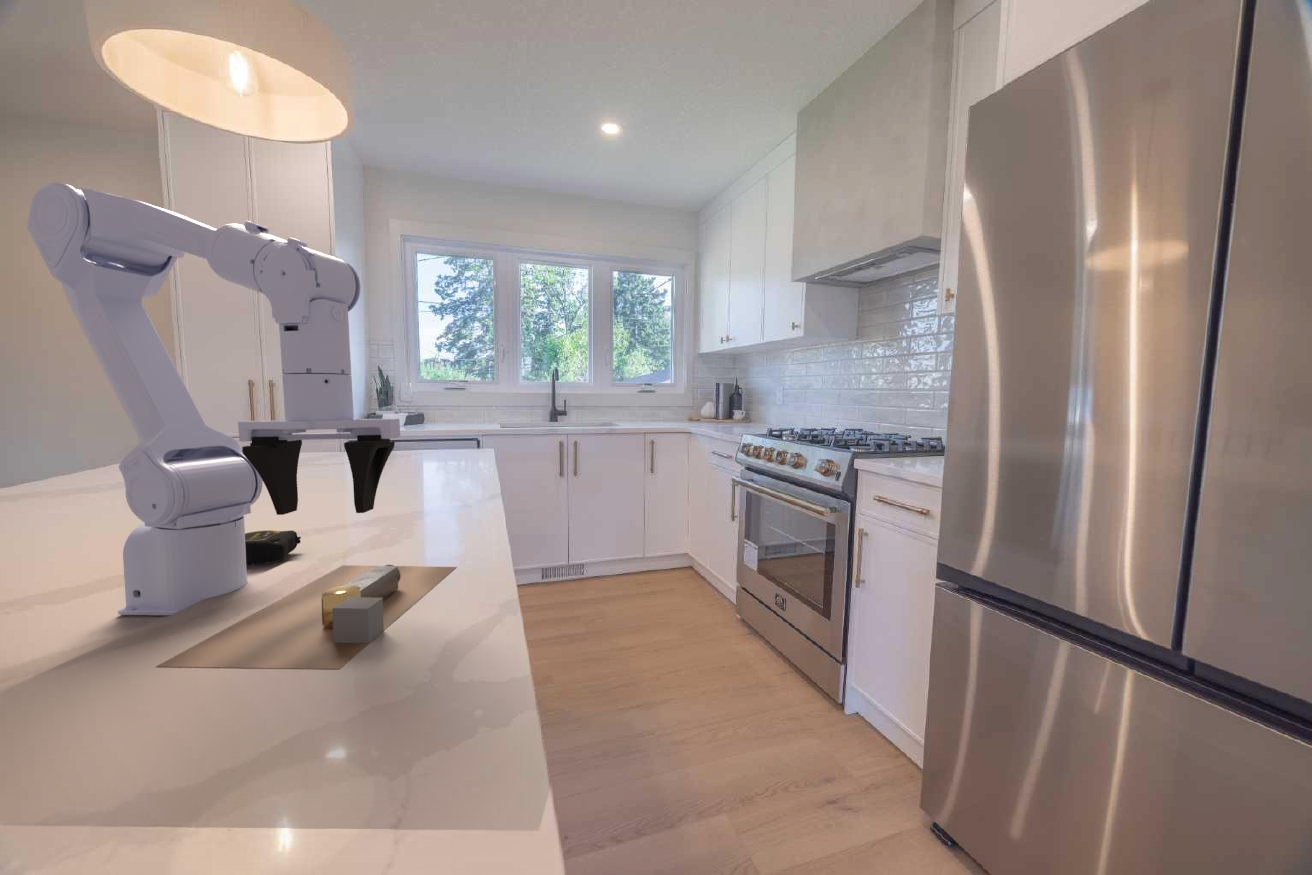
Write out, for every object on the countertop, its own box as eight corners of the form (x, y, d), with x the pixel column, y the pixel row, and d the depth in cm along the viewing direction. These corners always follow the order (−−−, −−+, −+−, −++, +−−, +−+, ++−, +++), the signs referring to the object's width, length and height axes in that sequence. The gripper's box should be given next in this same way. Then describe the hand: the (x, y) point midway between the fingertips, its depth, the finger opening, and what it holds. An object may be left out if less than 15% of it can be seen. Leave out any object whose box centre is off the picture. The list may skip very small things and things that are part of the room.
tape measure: (283, 568, 67) (282, 540, 67) (219, 572, 65) (218, 543, 65) (301, 553, 74) (300, 527, 73) (243, 556, 72) (242, 530, 71)
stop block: (333, 642, 44) (332, 608, 44) (350, 629, 46) (349, 597, 46) (368, 642, 44) (368, 608, 44) (383, 630, 46) (382, 597, 46)
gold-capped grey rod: (349, 628, 46) (348, 597, 46) (315, 627, 46) (314, 597, 46) (403, 586, 56) (403, 561, 56) (375, 586, 56) (375, 561, 56)
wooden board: (156, 685, 40) (155, 666, 40) (342, 577, 64) (342, 565, 64) (339, 687, 40) (339, 668, 40) (457, 578, 64) (457, 566, 64)
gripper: (208, 374, 47) (219, 522, 48) (372, 372, 47) (380, 519, 48) (264, 377, 54) (273, 507, 55) (406, 375, 54) (412, 504, 55)
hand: (326, 511), depth 52 cm, fingers open, 7 cm apart
